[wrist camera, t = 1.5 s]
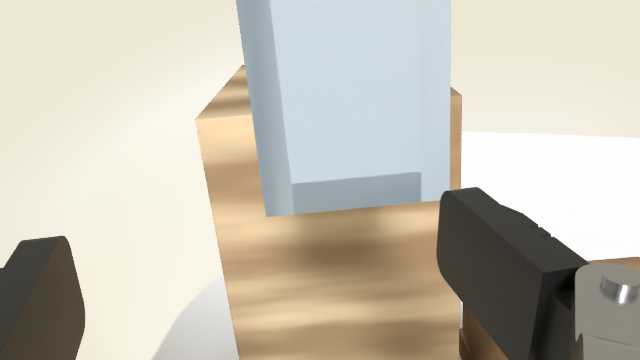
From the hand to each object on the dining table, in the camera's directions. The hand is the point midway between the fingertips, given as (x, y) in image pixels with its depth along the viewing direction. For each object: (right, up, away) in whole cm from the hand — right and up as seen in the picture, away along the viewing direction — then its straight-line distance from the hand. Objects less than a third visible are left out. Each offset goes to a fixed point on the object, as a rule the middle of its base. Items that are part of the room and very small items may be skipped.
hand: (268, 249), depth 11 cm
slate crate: (+2, +5, +13) cm, 15 cm away
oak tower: (+4, -22, +31) cm, 38 cm away
